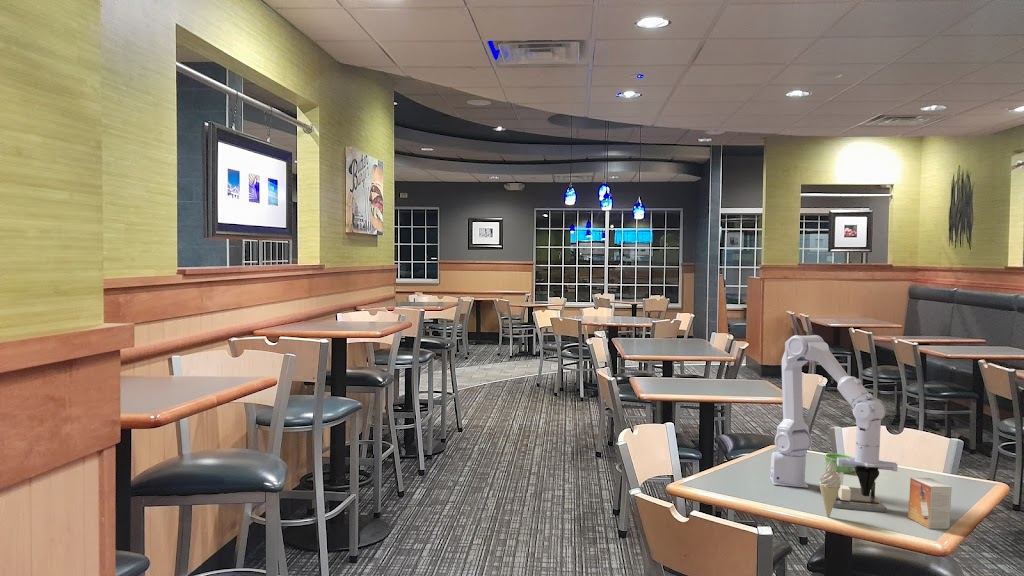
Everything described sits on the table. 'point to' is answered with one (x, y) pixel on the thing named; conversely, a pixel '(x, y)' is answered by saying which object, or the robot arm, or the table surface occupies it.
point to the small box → (930, 503)
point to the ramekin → (834, 459)
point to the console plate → (860, 501)
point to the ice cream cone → (829, 486)
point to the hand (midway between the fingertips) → (865, 495)
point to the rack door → (841, 477)
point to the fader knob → (844, 493)
